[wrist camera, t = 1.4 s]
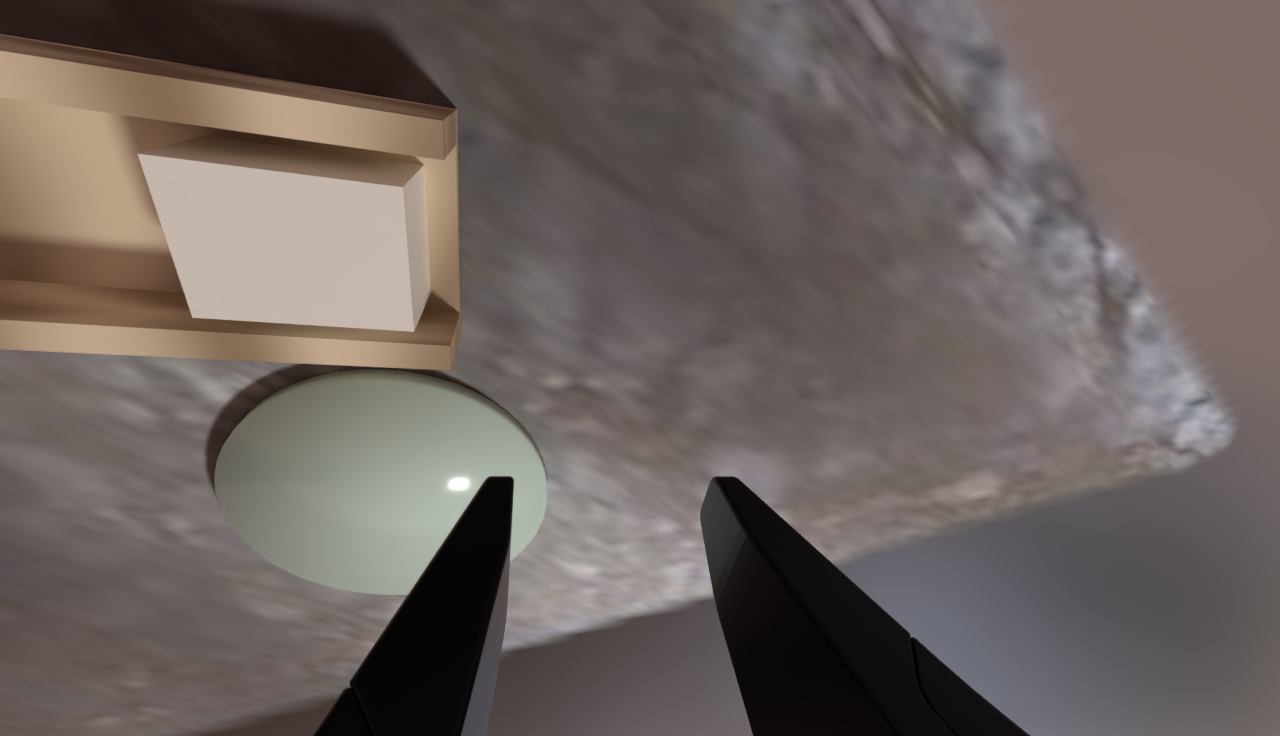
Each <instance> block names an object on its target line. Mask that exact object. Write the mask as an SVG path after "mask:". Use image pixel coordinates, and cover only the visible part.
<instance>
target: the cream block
mask: <svg viewBox="0 0 1280 736" xmlns="http://www.w3.org/2000/svg"><path fill="white" fill-rule="evenodd" d="M138 157H139V160H140V163H141V166H142V169H143V172H144V175H145V178H146V181H147V184H148V187H149V190H150V193H151V196H152V199H153V202H154V205H155V208H156V211H157V214H158V217H159V220H160V223H161V226H162V229H163V232H164V235H165V238H166V241H167V244H168V247H169V249H170V252H171V255H172V258H173V261H174V264H175V267H176V270H177V273H178V276H179V279H180V282H181V285H182V288H183V291H184V294H185V297H186V300H187V303H188V306H189V309H190V312H191V315H192V318H205V319H221V320H237V321H252V322H268V323H284V324H299V325H315V326H331V327H346V328H362V329H378V330H393V331H409V332H414V331H415V328H416V326H417V324H418V321H419V319H420V317H421V315H422V312H423V310H424V308H425V305H426V303H427V301H428V298H429V296H430V294H431V287H430V268H429V250H428V231H427V213H426V195H425V176H424V165H420V164H412V163H405V162H398V161H391V160H383V159H376V158H369V157H362V156H354V155H347V154H340V153H333V152H325V151H318V150H311V149H304V148H296V147H289V146H282V145H275V144H267V143H260V142H253V141H246V140H238V139H231V138H224V137H216V136H209V135H204V136H200V137H196V138H193V139H189V140H185V141H182V142H178V143H174V144H171V145H167V146H163V147H160V148H156V149H152V150H149V151H145V152H141V153H138Z"/></svg>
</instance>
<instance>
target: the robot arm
mask: <svg viewBox="0 0 1280 736" xmlns="http://www.w3.org/2000/svg"><path fill="white" fill-rule="evenodd" d="M513 494H514V479H513V477H511V476H489V477H488V478H486V479H485V481H484V482H483V483H482V485H481V486H480V488H479V489H478V491H477V492H476V494H475V495H474V497H473V498H472V500H471V501H470V503H469V504H468V506H467V507H466V509H465V510H464V512H463V513H462V515H461V516H460V518H459V519H458V521H457V522H456V524H455V525H454V527H453V528H452V530H451V531H450V533H449V534H448V536H447V537H446V539H445V540H444V542H443V543H442V545H441V546H440V548H439V549H438V551H437V552H436V554H435V555H434V557H433V558H432V560H431V561H430V563H429V564H428V566H427V567H426V569H425V570H424V572H423V573H422V575H421V576H420V578H419V579H418V580H417V582H416V583H415V585H414V586H413V588H412V589H411V591H410V592H409V594H408V595H407V597H406V598H405V600H404V601H403V603H402V604H401V606H400V607H399V609H398V610H397V612H396V613H395V615H394V616H393V618H392V619H391V621H390V622H389V624H388V625H387V627H386V628H385V630H384V631H383V633H382V634H381V636H380V637H379V639H378V640H377V642H376V643H375V645H374V646H373V648H372V649H371V651H370V652H369V654H368V655H367V657H366V658H365V660H364V661H363V663H362V664H361V666H360V667H359V669H358V670H357V672H356V673H355V675H354V676H353V678H352V679H351V681H350V687H351V688H349V687H348V688H346V689H344V690H343V692H342V693H341V695H340V696H339V698H338V699H337V701H336V702H335V704H334V705H333V707H332V708H331V710H330V712H329V713H328V714H327V716H326V717H325V719H324V720H323V722H322V723H321V725H320V726H319V728H318V729H317V730H316V732H315V733H314V735H313V736H486V734H487V728H488V723H489V717H490V711H491V705H492V699H493V694H494V688H495V683H496V677H497V671H498V666H499V660H500V654H501V648H502V643H503V637H504V630H505V623H506V615H507V603H508V585H509V567H510V549H511V531H512V512H513ZM700 520H701V527H702V532H703V538H704V544H705V549H706V555H707V560H708V566H709V572H710V577H711V583H712V588H713V594H714V599H715V603H716V608H717V612H718V616H719V619H720V623H721V626H722V630H723V633H724V637H725V640H726V644H727V647H728V651H729V654H730V657H731V661H732V664H733V668H734V671H735V674H736V678H737V682H738V685H739V688H740V692H741V695H742V699H743V702H744V706H745V709H746V713H747V716H748V719H749V722H750V726H751V730H752V733H753V736H1030V735H1028V734H1027V733H1026V732H1025V731H1024V730H1022V729H1021V728H1020V727H1019V726H1017V725H1016V724H1015V723H1014V722H1012V721H1011V720H1010V719H1009V718H1008V717H1006V716H1005V715H1004V714H1003V713H1001V712H1000V711H999V710H998V709H997V708H995V707H994V706H993V705H992V704H990V703H989V702H988V701H987V700H986V699H984V698H983V697H982V696H981V695H980V694H978V693H977V692H976V691H975V690H973V689H972V688H971V687H970V686H969V685H968V684H967V683H965V682H964V681H963V680H962V679H961V678H960V677H959V676H957V675H956V674H955V673H954V672H953V671H952V670H951V669H949V668H948V667H947V666H946V665H945V664H944V663H943V662H941V661H940V660H939V659H938V658H937V657H936V656H935V655H934V654H932V653H931V652H930V651H929V650H928V649H927V648H926V647H925V646H924V645H922V644H921V643H920V642H919V641H918V640H917V639H915V638H914V637H912V638H911V637H910V634H909V632H908V631H907V630H906V629H904V628H903V627H902V626H901V625H900V624H899V623H898V622H897V621H895V620H894V619H893V618H892V617H891V616H890V615H889V614H888V613H887V612H886V611H884V610H883V609H882V608H881V607H880V606H879V605H878V604H877V603H875V602H874V601H873V600H872V599H871V598H870V597H869V596H868V595H867V594H866V593H864V592H863V591H862V590H861V589H860V588H859V587H858V586H857V585H856V584H855V583H853V582H852V581H851V580H850V579H849V578H848V577H847V576H845V575H844V574H843V573H842V572H841V571H840V570H839V569H838V568H837V567H836V566H835V565H833V564H832V563H831V562H830V561H829V560H828V559H827V558H826V557H825V556H823V555H822V554H821V553H820V552H819V551H818V550H817V549H816V548H815V547H813V546H812V545H811V544H810V543H809V542H808V541H807V540H806V539H805V538H803V537H802V536H801V535H800V534H799V533H798V532H797V531H796V530H795V529H793V528H792V527H791V526H790V525H789V524H788V523H787V522H786V521H785V520H784V519H782V518H781V517H780V516H779V515H778V514H777V513H776V512H775V511H774V510H772V509H771V508H770V507H769V506H768V505H767V504H766V503H765V502H764V501H762V500H761V499H760V498H759V497H758V496H757V495H756V494H755V493H754V492H752V491H751V490H750V489H749V488H748V487H747V486H746V485H745V484H744V483H742V482H741V481H740V480H739V479H738V478H736V477H714V478H713V479H712V480H711V482H710V484H709V487H708V490H707V493H706V496H705V499H704V502H703V505H702V508H701V513H700Z"/></svg>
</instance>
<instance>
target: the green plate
mask: <svg viewBox="0 0 1280 736" xmlns="http://www.w3.org/2000/svg"><path fill="white" fill-rule="evenodd" d="M489 476H511V477H513V479H514V494H513V512H512V531H511V549H510V561H511V560H512V559H514V558H515V557H516V556H517V555H518V554H519V553H520V552H521V551H522V550H523V549H525V547H526V546H527V545H528V544H529V543H530V541H531V540H532V539H533V538H534V536H535V534H536V533H537V531H538V529H539V528H540V525H541V523H542V520H543V518H544V515H545V511H546V506H547V475H546V469H545V464H544V461H543V459H542V456H541V453H540V451H539V449H538V447H537V446H536V444H535V442H534V440H533V439H532V437H531V436H530V435H529V433H528V432H527V431H526V430H525V428H524V427H523V426H522V425H521V424H520V423H519V422H518V421H517V420H516V419H515V418H514V417H513V416H512V415H510V414H509V413H508V412H507V411H505V410H504V409H503V408H501V407H500V406H499V405H497V404H496V403H494V402H493V401H491V400H489V399H488V398H486V397H484V396H482V395H480V394H479V393H477V392H475V391H473V390H470V389H468V388H466V387H463V386H461V385H458V384H456V383H453V382H450V381H447V380H444V379H440V378H437V377H434V376H429V375H424V374H419V373H414V372H409V371H399V370H388V369H357V370H348V371H339V372H333V373H328V374H324V375H319V376H314V377H311V378H308V379H305V380H302V381H299V382H297V383H294V384H291V385H289V386H287V387H285V388H283V389H281V390H279V391H277V392H275V393H273V394H271V395H270V396H269V397H267V398H266V399H264V400H263V401H261V402H260V403H259V404H257V405H256V406H255V407H254V408H253V409H252V410H251V411H250V412H249V413H248V414H247V415H246V416H245V417H244V418H243V419H242V420H241V421H240V423H239V424H238V425H237V426H236V428H235V429H234V430H233V432H232V433H231V434H230V436H229V437H228V439H227V440H226V442H225V443H224V445H223V447H222V449H221V452H220V454H219V456H218V459H217V462H216V468H215V474H214V480H215V493H216V496H217V500H218V503H219V507H220V509H221V511H222V513H223V515H224V517H225V519H226V521H227V522H228V523H229V525H230V526H231V527H232V529H233V530H234V531H235V533H236V534H237V535H238V536H239V537H240V538H241V539H242V540H243V541H244V542H245V543H246V544H247V545H248V546H249V547H250V548H251V549H253V550H254V551H255V552H256V553H258V554H259V555H260V556H262V557H263V558H264V559H266V560H268V561H269V562H271V563H273V564H274V565H276V566H277V567H279V568H281V569H283V570H285V571H287V572H289V573H292V574H294V575H296V576H298V577H301V578H304V579H306V580H309V581H311V582H314V583H318V584H321V585H325V586H328V587H332V588H337V589H341V590H346V591H352V592H359V593H367V594H382V595H407V594H409V592H410V591H411V589H412V588H413V586H414V585H415V583H416V582H417V580H418V579H419V578H420V576H421V575H422V573H423V572H424V570H425V569H426V567H427V566H428V564H429V563H430V561H431V560H432V558H433V557H434V555H435V554H436V552H437V551H438V549H439V548H440V546H441V545H442V543H443V542H444V540H445V539H446V537H447V536H448V534H449V533H450V531H451V530H452V528H453V527H454V525H455V524H456V522H457V521H458V519H459V518H460V516H461V515H462V513H463V512H464V510H465V509H466V507H467V506H468V504H469V503H470V501H471V500H472V498H473V497H474V495H475V494H476V492H477V491H478V489H479V488H480V486H481V485H482V483H483V482H484V481H485V479H486V478H488V477H489Z"/></svg>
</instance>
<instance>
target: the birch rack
mask: <svg viewBox="0 0 1280 736" xmlns="http://www.w3.org/2000/svg"><path fill="white" fill-rule="evenodd" d="M204 135H209V136H216V137H224V138H231V139H238V140H246V141H253V142H260V143H267V144H275V145H282V146H289V147H296V148H304V149H311V150H318V151H325V152H333V153H340V154H347V155H354V156H362V157H369V158H376V159H383V160H391V161H398V162H405V163H412V164H420V165H424V176H425V195H426V213H427V231H428V250H429V268H430V287H431V294H430V296H429V298H428V301H427V303H426V305H425V308H424V310H423V312H422V315H421V317H420V319H419V321H418V324H417V326H416V328H415V331H414V332H409V331H393V330H378V329H362V328H346V327H331V326H315V325H299V324H284V323H268V322H252V321H237V320H221V319H205V318H192V315H191V312H190V309H189V306H188V303H187V300H186V297H185V294H184V291H183V288H182V285H181V282H180V279H179V276H178V273H177V270H176V267H175V264H174V261H173V258H172V255H171V252H170V249H169V247H168V244H167V241H166V238H165V235H164V232H163V229H162V226H161V223H160V220H159V217H158V214H157V211H156V208H155V205H154V202H153V199H152V196H151V193H150V190H149V187H148V184H147V181H146V178H145V175H144V172H143V169H142V166H141V163H140V160H139V157H138V153H141V152H145V151H149V150H152V149H156V148H160V147H163V146H167V145H171V144H174V143H178V142H182V141H185V140H189V139H193V138H196V137H200V136H204ZM461 331H462V329H461V279H460V229H459V179H458V129H457V109H454V108H448V107H442V106H436V105H430V104H424V103H418V102H412V101H406V100H399V99H393V98H387V97H381V96H375V95H369V94H363V93H357V92H351V91H345V90H339V89H333V88H327V87H321V86H315V85H309V84H302V83H296V82H290V81H284V80H278V79H272V78H266V77H260V76H254V75H248V74H242V73H236V72H230V71H224V70H218V69H212V68H205V67H199V66H193V65H187V64H181V63H175V62H169V61H163V60H157V59H151V58H145V57H139V56H133V55H127V54H121V53H115V52H108V51H102V50H96V49H90V48H84V47H78V46H72V45H66V44H60V43H54V42H48V41H42V40H36V39H30V38H24V37H18V36H11V35H5V34H0V349H7V350H28V351H49V352H70V353H91V354H112V355H133V356H154V357H175V358H196V359H217V360H238V361H259V362H280V363H302V364H323V365H344V366H365V367H386V368H407V369H428V370H449V371H451V369H452V365H453V361H454V357H455V354H456V350H457V346H458V342H459V339H460V335H461Z"/></svg>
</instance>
